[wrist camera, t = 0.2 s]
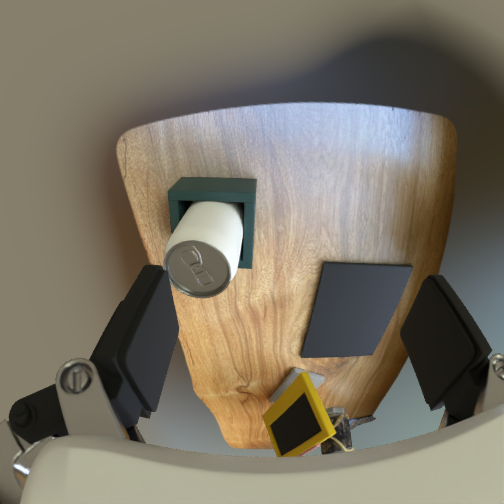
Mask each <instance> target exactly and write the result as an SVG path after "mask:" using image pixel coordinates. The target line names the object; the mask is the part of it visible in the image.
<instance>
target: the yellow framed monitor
mask: <svg viewBox="0 0 504 504" xmlns="http://www.w3.org/2000/svg"><path fill="white" fill-rule="evenodd" d="M324 380H325V377H324V376H323V375H319V374H316V373H312V372H309V371H305V370H302V369H299V368H296V367H294V368H293V370H292V371H291V372H290V373H289V375H288V376H287V377H286V379H285V380H284V381H283V382H282V384H281V385H280V386H279V387H278V389H277V390H276V391H275V392H274V393H273V395H272V396H271V397H270V398H269V402H275V403H274V404H273V405H272V406H271V407H270V408H269V409H268V410H267V411H266V413H265V414H264V415H263V419H264V422H265V425H266V428H267V430H268V433H269V436H270V439H271V441H272V444H273V447H274V450H275V452H276V455H277V457H298V456H303V455H304V454H306V453H308V452H310V451H312V450H314V449H315V448H317V447H319V446H320V443H322V442H323V441H325V440H327V439H328V438H330V437H331V436H333V435H334V434H336V431H335V429H334V427H333V425H332V423H331V421H330V419H329V416H328V414H327V412H326V410H325V408H324V406H323V404H322V402H321V399H320V397H319V395H318V393H317V391H316V388H317V387H318V386H319V385H320V384H321V383H322V382H323V381H324Z"/></svg>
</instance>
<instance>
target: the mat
mask: <svg viewBox="0 0 504 504" xmlns="http://www.w3.org/2000/svg"><path fill="white" fill-rule="evenodd" d="M412 269H413V266H410V265H388V264H366V263H345V262H324V263H323V267H322V272H321V276H320V281H319V285H318V290H317V294H316V298H315V302H314V307H313V311H312V315H311V319H310V322H309V326H308V330H307V334H306V338H305V341H304V345H303V349H302V352H301V358H322V357H350V356H367V355H373V353H374V351H375V349H376V347H377V346H378V344H379V342H380V340H381V338H382V336H383V334H384V332H385V330H386V328H387V326H388V324H389V322H390V320H391V318H392V316H393V314H394V312H395V309H396V307H397V305H398V303H399V301H400V298H401V296H402V294H403V291H404V289H405V287H406V284H407V282H408V279H409V277H410V274H411V272H412Z"/></svg>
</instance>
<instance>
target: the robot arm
mask: <svg viewBox="0 0 504 504" xmlns="http://www.w3.org/2000/svg"><path fill="white" fill-rule="evenodd" d="M178 333H179V324H178V320H177V315H176V310H175V305H174V301H173V296H172V291H171V285H170V280H169V274H168V271H167V270H163V267H162V266H160V265H145V266H144V267H143V269H142V270H141V272H140V274H139V275H138V277H137V279H136V280H135V282H134V284H133V285H132V287H131V289H130V290H129V292H128V294H127V296H126V297H125V299H124V300H123V301H121V302H120V304H119V305H118V307H117V308H116V310H115V312H114V314H113V316H112V317H111V319H110V321H109V323H108V325H107V327H106V328H105V330H104V332H103V334H102V336H101V338H100V340H99V341H98V343H97V345H96V347H95V349H94V351H93V353H92V355H91V357H90V359H89V360H87V359H84V358H75V359H71V360H69V361H67V362H66V363H64V364H63V365H62V366H61V367H60V369H59V370H58V372H57V375H56V384H53V385H51V386H49V387H47V388H44V389H42V390H40V391H38V392H35V393H33V394H31V395H29V396H26V397H24V398H22V399H20V400H18V401H17V402H15V403H14V405H13V406H12V408H11V410H10V413H9V421H6V420H3V421H2V422H1V423H0V504H504V355H502V354H494V355H492V357H491V358H490V359H488V358H487V357H488V355H489V354H490V353H491V351H492V349H491V347H490V345H489V344H488V342H487V340H486V338H485V337H484V335H483V334H482V332H481V330H480V329H479V327H478V325H477V324H476V322H475V321H474V319H473V318H472V316H471V315H470V313H469V312H468V310H467V309H466V307H465V306H464V304H463V303H462V301H461V300H460V299H459V297H458V296H457V294H456V293H455V291H454V290H453V289H452V288H451V286H450V285H449V283H448V282H447V281H446V279H445V278H444V277H443V276H442V275H429V276H428V277H427V278H426V279H425V280H424V281H423V283H422V285H421V287H420V290H419V292H418V294H417V297H416V299H415V301H414V303H413V305H412V307H411V310H410V312H409V314H408V316H407V318H406V320H405V322H404V324H403V326H402V328H401V331H400V335H401V339H402V341H403V343H404V346H405V348H406V351H407V353H408V355H409V358H410V360H411V363H412V365H413V368H414V371H415V373H416V376H417V379H418V381H419V384H420V387H421V390H422V393H423V395H424V398H425V401H426V403H427V404H429V407H430V409H431V411H433V410H436V409H439V408H442V406H444V405H445V408H446V409H445V412H444V415H443V418H442V420H441V424H440V426H439V429H438V430H436V431H433V432H430V433H427V434H424V435H421V436H417V437H414V438H410V439H407V440H403V441H399V442H395V443H391V444H387V445H382V446H377V447H372V448H367V449H361V450H355V451H349V452H342V453H334V454H324V455H314V456H298V457H243V456H227V455H217V454H207V453H198V452H191V451H184V450H177V449H172V448H166V447H161V446H156V445H151V444H146V443H145V441H144V439H143V437H142V435H141V434H140V432H139V430H138V428H137V426H136V424H137V423H138V419H139V416H140V417H144V418H150V415H151V412H155V411H156V410H157V406H158V403H159V399H160V395H161V391H162V388H163V385H164V381H165V378H166V374H167V370H168V367H169V364H170V360H171V357H172V354H173V350H174V347H175V344H176V340H177V337H178Z"/></svg>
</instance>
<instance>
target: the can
mask: <svg viewBox="0 0 504 504" xmlns="http://www.w3.org/2000/svg"><path fill="white" fill-rule="evenodd" d="M243 231H244V205H243V203H242V202H226V201H193V202H192V204H191V205H190V207H189V208H188V210H187V211H186V213H185V215H184V216H183V218H182V219H181V221H180V222H179V224H178V226H177V227H176V229H175V230H174V232H173V234H172V235H171V237H170V239H169V241H168V243H167V245H166V248H165V258H164V270H167V271H168V274H169V280H170V283H171V285H172V286H173V287H174V288H176V289H177V290H178V291H180V292H181V293H183V294H185V295H188V296H191V297H195V298H210V297H214V296H216V295H218V294H220V293H222V292H223V291H224V290H225V289H226V288H227V286H228V285H229V283H230V281H231V280H232V279H233V277H234V276H235V274H236V271H237V268H238V263H239V257H240V251H241V244H242V238H243Z"/></svg>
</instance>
